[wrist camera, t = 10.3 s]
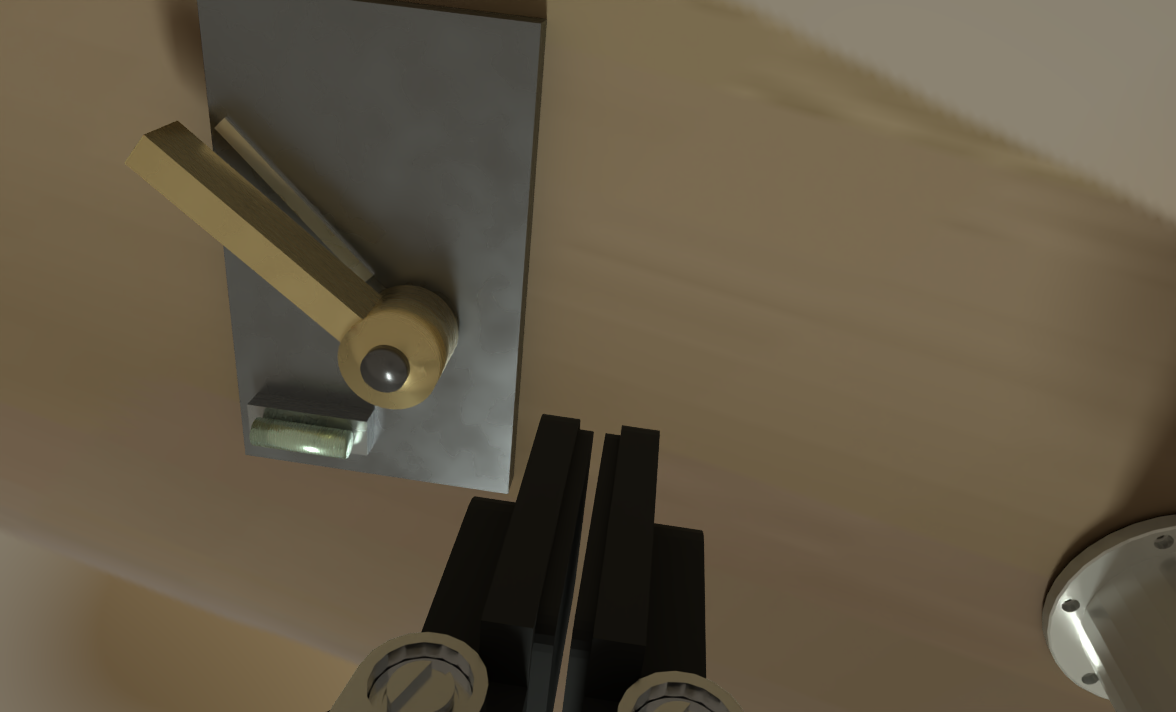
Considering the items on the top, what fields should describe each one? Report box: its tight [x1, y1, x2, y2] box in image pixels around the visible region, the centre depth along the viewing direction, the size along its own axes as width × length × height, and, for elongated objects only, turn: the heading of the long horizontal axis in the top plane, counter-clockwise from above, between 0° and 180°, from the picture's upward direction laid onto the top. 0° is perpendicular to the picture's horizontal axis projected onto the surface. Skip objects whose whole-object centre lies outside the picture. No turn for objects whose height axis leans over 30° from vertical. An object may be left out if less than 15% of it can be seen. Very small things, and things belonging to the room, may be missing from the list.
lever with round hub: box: [125, 121, 459, 409], centre depth 37 cm, size 4×15×4 cm, turn 46°
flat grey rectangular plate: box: [197, 0, 547, 494], centre depth 39 cm, size 14×23×4 cm, turn 174°
